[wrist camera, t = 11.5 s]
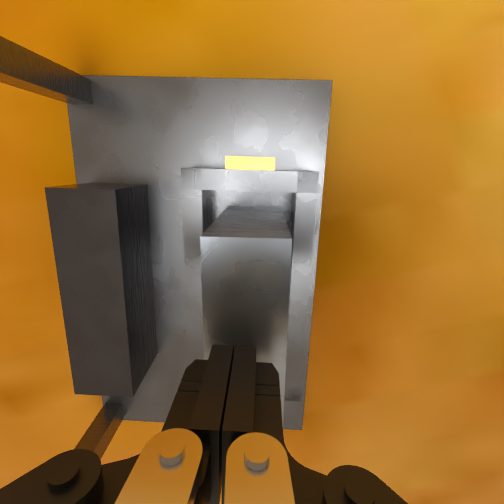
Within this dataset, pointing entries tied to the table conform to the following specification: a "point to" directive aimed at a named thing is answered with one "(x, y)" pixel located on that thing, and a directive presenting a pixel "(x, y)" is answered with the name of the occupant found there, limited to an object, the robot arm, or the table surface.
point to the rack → (170, 219)
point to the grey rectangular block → (247, 283)
